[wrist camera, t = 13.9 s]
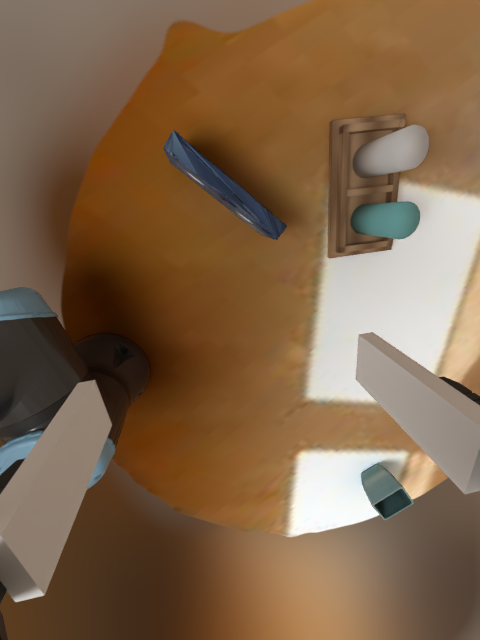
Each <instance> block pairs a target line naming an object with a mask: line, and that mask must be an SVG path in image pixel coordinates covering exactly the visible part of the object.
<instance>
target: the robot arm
mask: <svg viewBox="0 0 480 640" xmlns="http://www.w3.org/2000/svg"><path fill="white" fill-rule="evenodd" d="M57 317H58V316H57V314H56V313H53V312H52V310H51V309H50V308H49V306H48V305H47V304H46V302H45V301H44V299H43V298H42V297H41V295H40V294H39V293H38V292H36V291H35V290H32V289H29V288H24V287H22V288H21V287H20V288H14V289H9V290H5V291H0V440H1V441H2V442H3V444H4V445H3V446H2V447H0V603H1V601H2V599H3V597H4V595H5V593H6V591H7V592H8V593H9V594H10V596H11V597H12V598H13V599H14V601H15V602H18V601H22V600H27V599H31V598H35V597H39V596H43V595H45V593H46V590H47V588H48V585H49V582H50V580H51V577H52V575H53V573H54V570H55V567H56V565H57V562H58V560H59V557H60V555H61V552H62V550H63V547H64V545H65V542H66V540H67V537H68V535H69V532H70V530H71V527H72V525H73V522H74V520H75V517H76V514H77V512H78V510H79V507H80V504H81V502H82V500H83V497H84V495H85V492H86V489H88V488H90V487H91V486H92V485H94V484H95V483H96V482H97V481H98V480H99V479H100V478H101V477H102V476H103V474H104V473H105V471H106V469H107V467H108V464H109V462H110V459H111V458H112V457H113V455H114V453H115V449H116V445H117V442H118V439H119V436H120V433H121V430H122V427H123V424H124V421H125V417H126V414H127V411H128V408H129V406H130V405H131V404H132V402H134V401H135V400H136V399H137V398H138V397H139V396H140V395H141V394H142V393H143V391H144V389H145V388H146V385H147V382H148V379H149V374H150V367H149V362H148V359H147V357H146V355H145V354H144V352H143V351H142V350H141V349H140V348H139V347H138V346H137V345H136V344H135V343H133V342H132V341H130V340H128V339H126V338H124V337H121V336H118V335H113V334H95V335H91V336H88V337H85V338H83V339H81V340H80V341H78V342H77V343H76V344H75V345H74V343H73V342H72V340H71V339H70V337H69V336H68V334H67V333H66V331H65V329H64V328H63V326H62V325H61V323H60V322H59V320H58V319H57ZM356 380H357V381H358V382H359V383H360V384H361V385H362V386H363V387H364V389H365V390H366V391H367V392H368V393H369V394H370V395H371V396H372V397H373V398H374V399H375V400H376V401H377V402H378V403H379V404H380V405H381V406H382V407H383V409H384V410H385V411H386V412H387V413H388V414H389V415H390V416H391V417H392V418H393V419H394V420H395V421H396V422H397V423H398V424H399V425H400V426H401V427H402V429H403V430H404V431H405V432H406V433H407V434H408V435H409V436H410V437H411V438H412V439H413V440H414V441H415V442H416V443H417V444H418V445H419V446H420V447H421V449H422V450H423V451H424V452H425V453H426V454H427V455H428V456H429V457H430V458H431V459H432V460H433V461H434V462H435V463H436V464H437V465H438V466H439V468H440V469H441V470H442V471H443V472H444V473H445V474H446V475H447V476H448V477H449V478H450V479H451V480H452V481H453V482H454V483H455V484H456V485H457V486H458V488H459V489H461V491H462V492H463V493H464V494H468V493H472V492H476V491H480V396H478V395H477V394H475V393H472V391H471V390H469V389H468V388H466V387H464V386H463V385H461V384H460V383H458V382H455V381H453V380H451V379H448V378H446V377H437V376H436V375H434V374H433V373H431V372H430V371H428V370H427V369H426V368H424V367H423V366H421V365H420V364H418V363H417V362H415V361H414V360H412V359H411V358H409V357H408V356H407V355H405V354H404V353H402V352H401V351H399V350H398V349H396V348H395V347H393V346H392V345H390V344H389V343H388V342H386V341H385V340H383V339H382V338H380V337H379V336H377V335H376V334H374V333H373V332H371V333H365V334H360V335H359V337H358V353H357V368H356ZM0 640H8V638H7V633H6V629H5V624H4V619H3V615H2V613H1V612H0Z"/></svg>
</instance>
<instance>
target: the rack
mask: <svg viewBox="0 0 480 640" xmlns="http://www.w3.org/2000/svg"><path fill="white" fill-rule="evenodd" d="M403 128H405V114H396V115H385V116H374V117H363V118H352V119H341V120H332V121H331V122H330V141H329V207H328V258H335V257H342V256H349V255H356V254H363V253H370V252H377V251H384V250H391V247H392V243H393V238H387V237H379V236H372V235H365V234H358V233H356V232H355V231H354V230H353V229H352V227H351V223H350V220H351V216H352V213H353V212H354V210H355V209H356V208H357V207H358V206H360V205H362V204H371V203H392V202H397V195H398V185H399V176H400V172H395V173H390V174H384V175H379V176H374V177H369V178H360V177H358V176H357V175H356V174H355V172H354V170H353V166H352V161H353V157H354V154H355V152H356V151H357V149H358V148H359V147H360V146H362V145H364V144H366V143H368V142H371V141H373V140H376V139H378V138H381V137H383V136H386V135H388V134H391V133H393V132H396V131H398V130H401V129H403Z"/></svg>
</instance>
